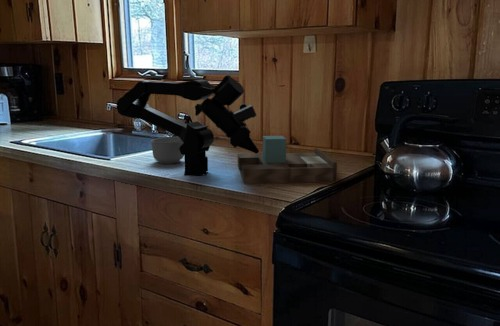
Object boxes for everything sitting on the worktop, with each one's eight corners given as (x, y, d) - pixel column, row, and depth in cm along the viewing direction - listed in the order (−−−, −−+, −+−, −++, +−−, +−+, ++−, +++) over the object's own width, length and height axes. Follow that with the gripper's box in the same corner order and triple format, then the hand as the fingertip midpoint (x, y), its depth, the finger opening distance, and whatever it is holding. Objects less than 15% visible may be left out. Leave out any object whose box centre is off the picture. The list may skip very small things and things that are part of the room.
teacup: (183, 165, 150) (182, 141, 149) (149, 165, 150) (148, 141, 148) (186, 157, 164) (186, 134, 162) (155, 157, 163) (154, 134, 162)
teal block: (265, 162, 136) (265, 139, 134) (262, 158, 142) (262, 135, 140) (285, 162, 136) (286, 138, 135) (282, 158, 142) (282, 135, 141)
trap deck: (244, 183, 128) (244, 164, 127) (237, 166, 150) (237, 149, 148) (336, 181, 131) (337, 162, 130) (316, 164, 152) (317, 148, 151)
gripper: (242, 97, 125) (282, 137, 128) (237, 93, 143) (272, 128, 146) (213, 127, 126) (253, 166, 129) (212, 119, 144) (247, 153, 147)
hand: (257, 152), depth 138 cm, fingers closed
